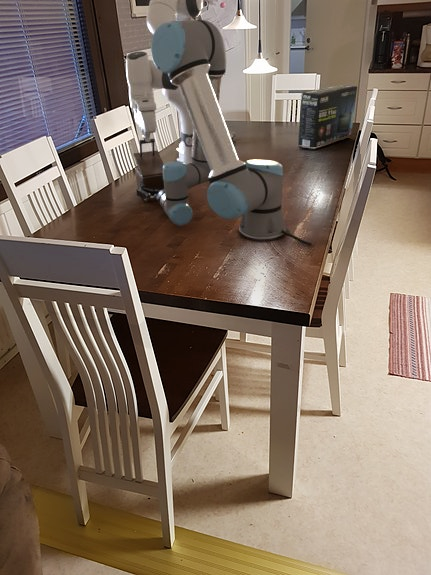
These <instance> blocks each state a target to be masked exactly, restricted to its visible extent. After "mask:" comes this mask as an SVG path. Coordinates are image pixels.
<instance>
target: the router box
mask: <svg viewBox="0 0 431 575" xmlns="http://www.w3.org/2000/svg"><path fill="white" fill-rule="evenodd" d="M357 93H358V86H356V85H350V84H339V85H338V84H337V85H334V86H328V87H324V88H318V89H314V90H309V91H304V92H301V93H300V109H299V110H300V111H299V124H298V137H297V146H298V145H302V146H307V147H317V146H320V145H323V144H325V143H328V142H331V141H333V140H336V139H338V138H341V137H344V136H347V135H351V136H352V133H353V132H352V131H353V125H354V115H355V109H356V99H357ZM311 151H313V150H312V149H311Z"/></svg>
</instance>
